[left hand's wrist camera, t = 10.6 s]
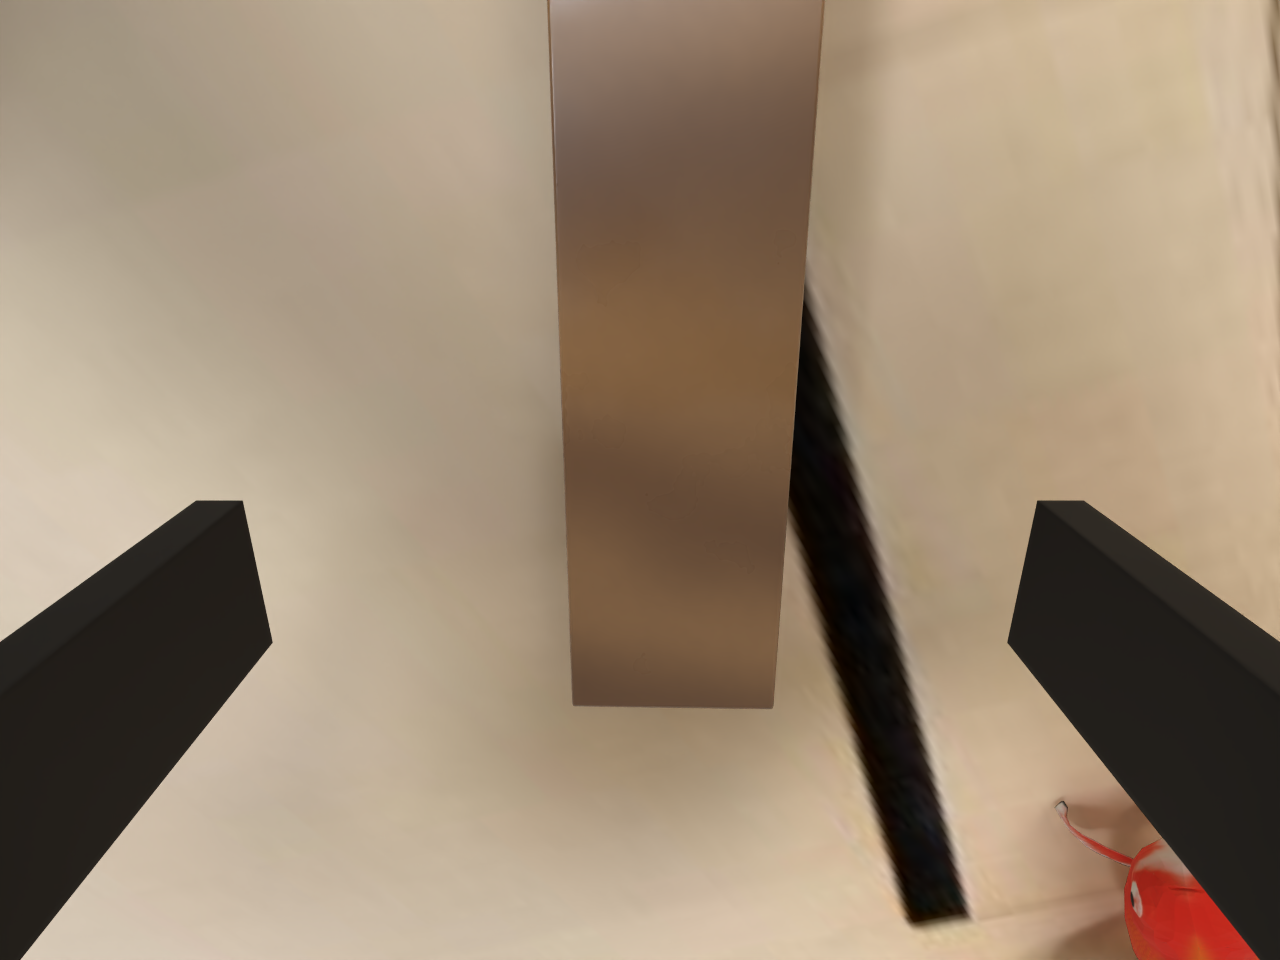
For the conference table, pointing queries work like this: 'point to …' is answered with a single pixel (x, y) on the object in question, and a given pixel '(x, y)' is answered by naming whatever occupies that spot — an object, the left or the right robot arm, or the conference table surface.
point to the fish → (1169, 907)
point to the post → (679, 334)
